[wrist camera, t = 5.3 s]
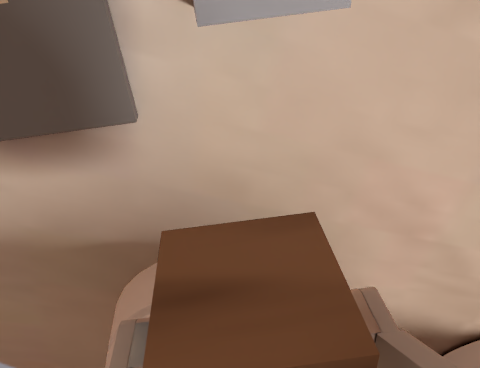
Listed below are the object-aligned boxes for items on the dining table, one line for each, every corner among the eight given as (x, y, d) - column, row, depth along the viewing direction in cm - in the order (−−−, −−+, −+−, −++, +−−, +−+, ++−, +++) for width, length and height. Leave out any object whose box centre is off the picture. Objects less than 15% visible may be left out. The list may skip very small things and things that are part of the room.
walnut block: (310, 311, 14) (357, 457, 10) (187, 328, 14) (181, 483, 10) (314, 212, 12) (379, 354, 7) (161, 231, 11) (139, 388, 7)
